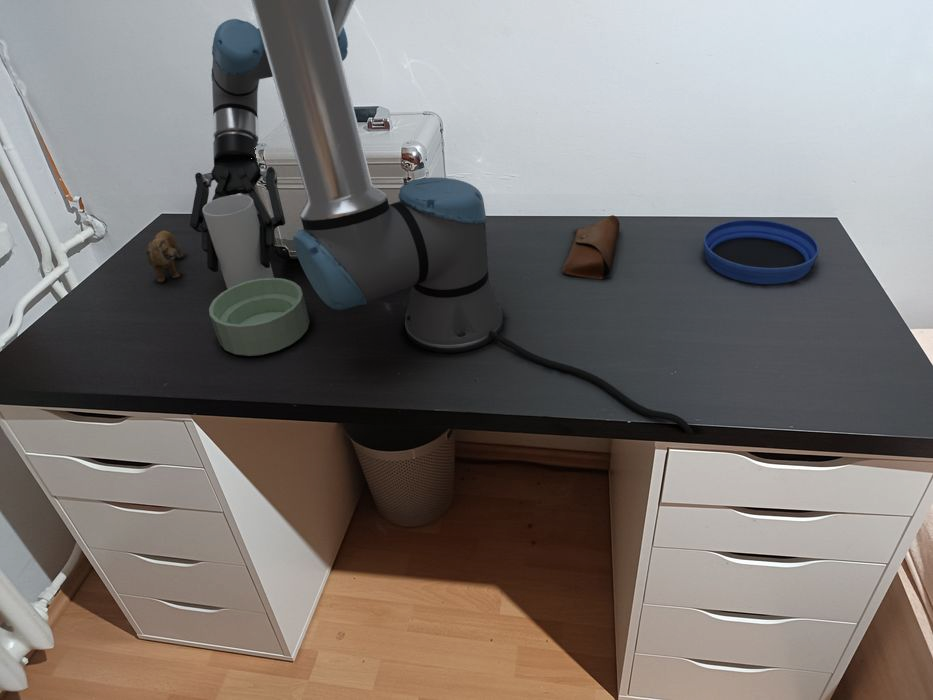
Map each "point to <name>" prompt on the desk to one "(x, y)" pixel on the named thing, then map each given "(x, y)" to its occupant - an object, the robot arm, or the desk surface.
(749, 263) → the blue plastic ring
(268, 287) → the ceramic bowl
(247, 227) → the cup
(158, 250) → the lion figurine
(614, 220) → the sunglasses case
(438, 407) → the desk surface
